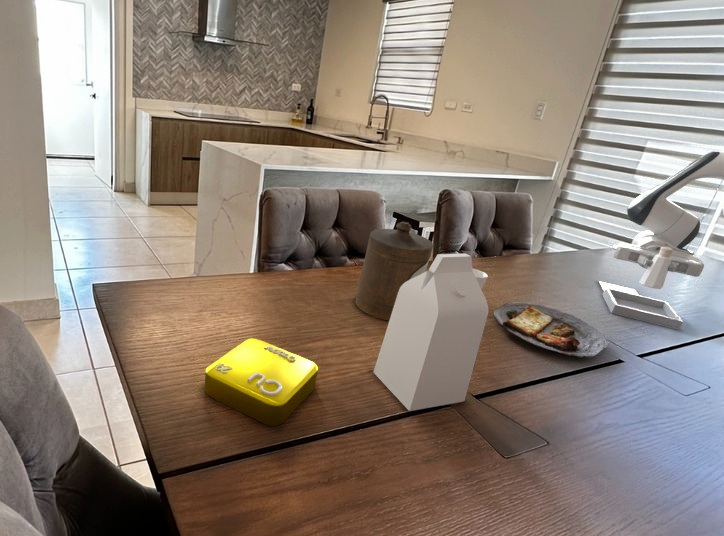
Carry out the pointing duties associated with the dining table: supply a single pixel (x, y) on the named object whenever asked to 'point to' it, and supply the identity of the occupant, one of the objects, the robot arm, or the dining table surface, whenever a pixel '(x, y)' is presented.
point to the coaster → (616, 288)
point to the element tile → (261, 381)
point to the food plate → (551, 329)
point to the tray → (642, 308)
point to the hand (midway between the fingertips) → (660, 266)
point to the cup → (480, 277)
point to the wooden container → (390, 267)
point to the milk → (434, 335)
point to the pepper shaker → (657, 269)
